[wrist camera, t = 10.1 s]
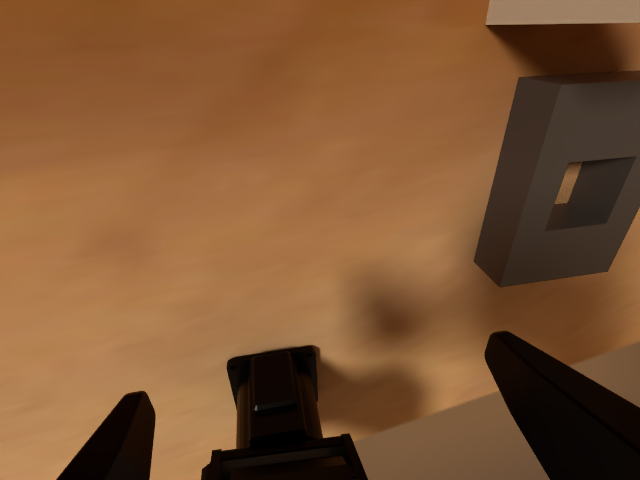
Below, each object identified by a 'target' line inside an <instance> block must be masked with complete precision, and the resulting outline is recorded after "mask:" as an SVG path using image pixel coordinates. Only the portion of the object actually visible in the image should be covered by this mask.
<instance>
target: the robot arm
mask: <svg viewBox="0 0 640 480" xmlns="http://www.w3.org/2000/svg"><path fill="white" fill-rule="evenodd" d="M485 360H486V363H487V365H488V367H489V369H490V371H491V373H492V375H493V377H494V380H495V382H496V384H497V386H498V388H499V390H500V392H501V394H502V396H503V398H504V401H505V403H506V405H507V407H508V409H509V411H510V413H511V415H512V416H513V418H514V420H515V422H516V423H517V425H518V427H519V428H520V430H521V432H522V433H523V435H524V437H525V438H526V440H527V442H528V443H529V445H530V447H531V449H532V450H533V452H534V453H535V455H536V457H537V459H538V460H539V462H540V463H541V465H542V467H543V469H544V470H545V472H546V473H547V475H548V477H549V478H550V480H640V408H639V407H638V406H636V405H634V404H633V403H630V402H629V401H627V400H626V399H624V398H622V397H620V396H619V395H617V394H615V393H614V392H612V391H610V390H608V389H607V388H605V387H603V386H602V385H600V384H598V383H596V382H594V381H593V380H591V379H589V378H588V377H586V376H584V375H583V374H581V373H579V372H577V371H576V370H574V369H572V368H571V367H569V366H567V365H565V364H564V363H562V362H560V361H559V360H557V359H555V358H553V357H552V356H550V355H548V354H546V353H545V352H543V351H541V350H540V349H538V348H536V347H534V346H533V345H531V344H529V343H528V342H526V341H524V340H522V339H521V338H519V337H517V336H515V335H514V334H512V333H510V332H508V331H499V332H493V333H492V334H491V335H490V337H489V340H488V343H487V346H486V350H485ZM227 372H228V376H229V380H230V384H231V388H232V392H233V397H234V401H235V405H236V409H237V437H236V449H232V450H224V451H221V449H219V450H212V456H211V462H210V464H208V465H207V466H206V467H204V468H203V469H202V475H201V480H368V478H367V476H366V473H365V471H364V468H363V466H362V463H361V461H360V458H359V456H358V453H357V451H356V448H355V446H354V443H353V441H352V438H351V436H350V434H349V433H348V434H341V436H336V437H328V438H323V435H322V430H321V425H320V420H319V414H318V409H317V404H316V402H317V401H318V392H317V371H316V353H315V349H314V348H313V347H311V346H308V347H302V348H295V349H289V350H283V351H277V352H270V353H264V354H258V355H251V356H245V357H239V358H233V359H230V360H228V362H227ZM154 430H155V411H154V408H153V406H152V404H151V402H150V399H149V397H148V395H147V393H146V392H145V391H138V392H132V393H128V394H126V395H125V396H124V397H123V398H122V399H121V400H120V401H119V403H118V404H117V405H116V406H115V408H114V409H113V410H112V411H111V413H110V414H109V415H108V416H107V417H106V419H105V420H104V421H103V422H102V424H101V425H100V426H99V427H98V429H97V430H96V431H95V432H94V434H93V435H92V436H91V437H90V438H89V440H88V441H87V442H86V443H85V445H84V446H83V447H82V448H81V450H80V451H79V452H78V453H77V455H76V456H75V457H74V458H73V459H72V461H71V462H70V463H69V464H68V466H67V467H66V468H65V469H64V471H63V472H62V473H61V474H60V476H59V477H58V478H57V479H56V480H149V478H150V468H151V459H152V449H153V439H154Z"/></svg>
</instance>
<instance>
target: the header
mask: <svg viewBox="0 0 640 480" xmlns="http://www.w3.org/2000/svg"><path fill="white" fill-rule="evenodd" d="M581 161H584V162H583V165H582V167H581V170H580V173H579V175H578V178H577V181H576V183H575V186H574V189H573V191H572V194H571V197H570V199H569V202H568V203H564V204H555V205H554V203H555V200H556V197H557V195H558V192H559V189H560V186H561V183H562V180H563V178H564V175H565V172H566V169H567V166H568V163H571V162H581ZM639 207H640V71H622V72H604V73H586V74H568V75H550V76H532V77H519V79H518V83H517V87H516V91H515V95H514V99H513V104H512V108H511V112H510V116H509V120H508V124H507V128H506V132H505V136H504V140H503V144H502V148H501V152H500V156H499V161H498V165H497V169H496V173H495V177H494V181H493V185H492V189H491V193H490V197H489V201H488V205H487V209H486V214H485V218H484V222H483V226H482V230H481V234H480V238H479V242H478V246H477V250H476V254H475V258H474V262H475V263H476V264H477V265H478V266H479V267H480V268H481V269H482V270H483V271H484V272H485V273H486V274H487V275H488V276H489V277H490V278H491V279H492V280H493V281H494V282H495V283H496V284H497V285H498V286H499V287H506V286H512V285H519V284H526V283H533V282H540V281H547V280H553V279H560V278H567V277H574V276H581V275H587V274H594V273H601V272H608V270H609V268H610V266H611V264H612V262H613V260H614V258H615V256H616V254H617V252H618V250H619V248H620V246H621V244H622V242H623V240H624V238H625V236H626V234H627V232H628V230H629V228H630V226H631V224H632V222H633V220H634V217H635V215H636V213H637V211H638V209H639Z"/></svg>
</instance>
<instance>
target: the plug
mask: <svg viewBox="0 0 640 480" xmlns="http://www.w3.org/2000/svg"><path fill="white" fill-rule="evenodd" d="M585 23H640V0H490V3H489V8H488V13H487V19H486V24H485V25H514V24H585Z"/></svg>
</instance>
